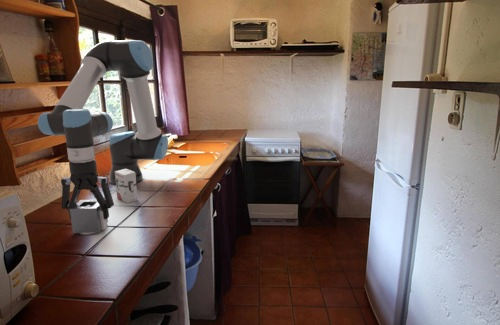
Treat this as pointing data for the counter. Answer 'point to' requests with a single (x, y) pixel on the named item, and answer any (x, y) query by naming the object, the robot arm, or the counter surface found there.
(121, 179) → the ink box
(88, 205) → the hub
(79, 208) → the block
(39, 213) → the counter surface
